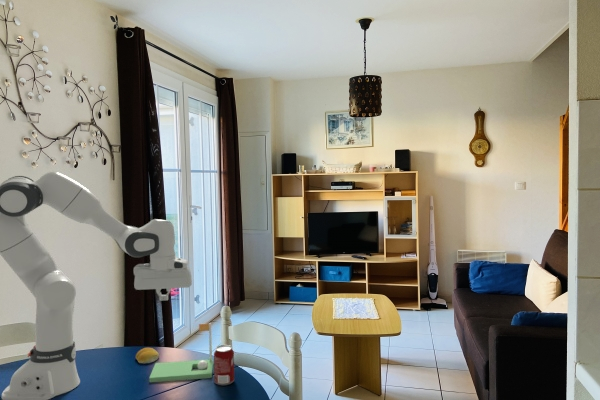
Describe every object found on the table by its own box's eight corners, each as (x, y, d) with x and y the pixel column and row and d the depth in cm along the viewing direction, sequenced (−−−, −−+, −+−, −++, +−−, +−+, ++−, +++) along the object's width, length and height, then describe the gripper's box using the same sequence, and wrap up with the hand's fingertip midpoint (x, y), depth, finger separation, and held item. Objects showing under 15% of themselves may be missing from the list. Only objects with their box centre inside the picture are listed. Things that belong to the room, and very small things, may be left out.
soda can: (230, 387, 144) (229, 352, 144) (211, 385, 146) (210, 351, 145) (237, 378, 151) (236, 344, 150) (218, 376, 152) (218, 343, 152)
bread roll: (140, 366, 162) (140, 355, 162) (133, 358, 169) (133, 348, 169) (162, 360, 167) (162, 350, 166) (154, 353, 174) (154, 343, 174)
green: (149, 382, 148) (148, 337, 148) (155, 367, 160) (154, 326, 159) (211, 377, 152) (210, 334, 151) (213, 363, 163) (212, 322, 163)
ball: (195, 369, 155) (201, 360, 155) (195, 365, 158) (201, 356, 158) (203, 374, 155) (209, 366, 155) (204, 370, 159) (209, 361, 159)
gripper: (131, 265, 154) (132, 304, 155) (190, 263, 157) (191, 301, 158) (135, 262, 160) (136, 299, 161) (191, 260, 163) (192, 296, 164)
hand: (163, 300), depth 159 cm, fingers closed
